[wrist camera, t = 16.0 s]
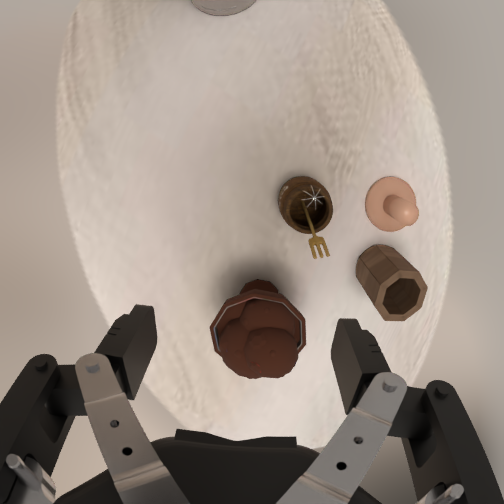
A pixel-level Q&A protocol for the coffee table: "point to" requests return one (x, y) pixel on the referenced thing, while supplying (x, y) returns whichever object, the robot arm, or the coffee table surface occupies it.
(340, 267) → the coffee table surface
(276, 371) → the ice cream bowl
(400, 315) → the canister
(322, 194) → the utensil holder
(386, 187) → the lid
